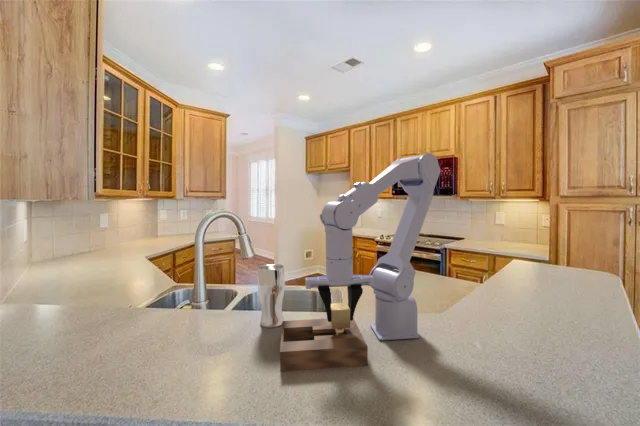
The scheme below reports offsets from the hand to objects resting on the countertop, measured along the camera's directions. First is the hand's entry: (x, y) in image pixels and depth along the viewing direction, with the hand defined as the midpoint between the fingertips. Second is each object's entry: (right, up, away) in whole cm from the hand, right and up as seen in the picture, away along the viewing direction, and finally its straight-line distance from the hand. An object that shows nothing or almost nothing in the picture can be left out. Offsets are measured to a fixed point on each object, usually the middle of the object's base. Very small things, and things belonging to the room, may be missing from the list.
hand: (339, 319), depth 65 cm
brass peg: (0, -6, +1) cm, 6 cm away
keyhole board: (-4, -7, 0) cm, 8 cm away
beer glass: (-17, -6, +14) cm, 23 cm away
